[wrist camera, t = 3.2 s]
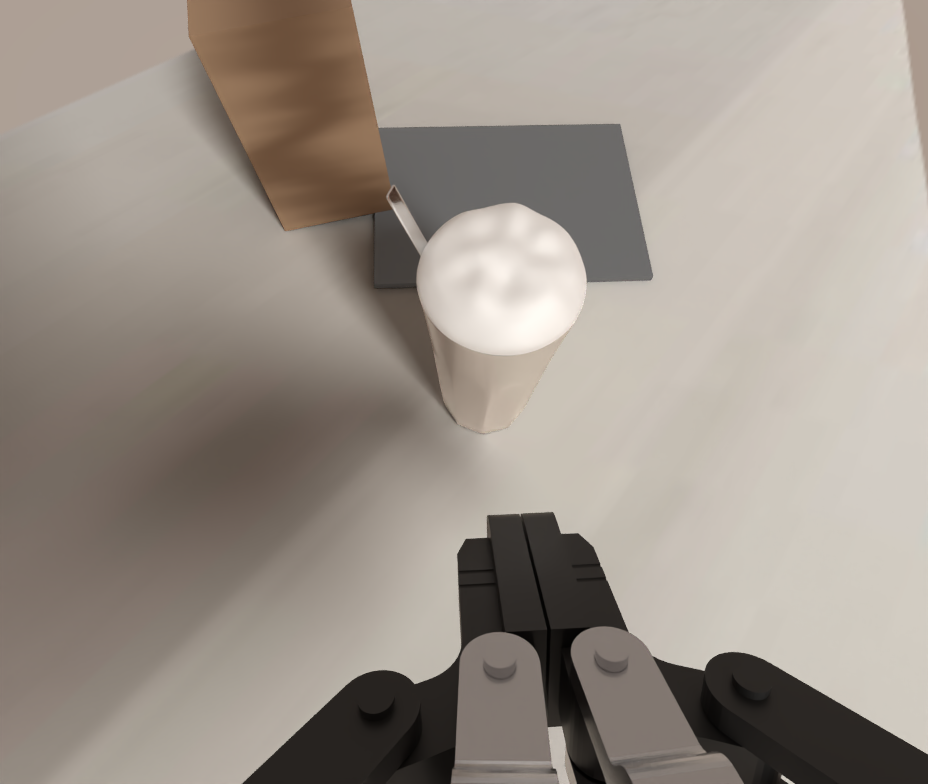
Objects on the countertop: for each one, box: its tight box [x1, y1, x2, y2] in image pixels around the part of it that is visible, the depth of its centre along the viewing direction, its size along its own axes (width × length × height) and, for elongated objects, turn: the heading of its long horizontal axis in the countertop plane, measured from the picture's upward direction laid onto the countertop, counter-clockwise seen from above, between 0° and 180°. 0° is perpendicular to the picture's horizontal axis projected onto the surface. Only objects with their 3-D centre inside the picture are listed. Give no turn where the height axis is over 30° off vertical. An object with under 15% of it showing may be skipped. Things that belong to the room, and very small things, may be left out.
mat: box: [374, 124, 653, 288], centre depth 26 cm, size 12×9×1 cm
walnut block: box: [187, 0, 392, 231], centre depth 23 cm, size 5×5×9 cm
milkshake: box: [386, 185, 587, 434], centre depth 18 cm, size 4×5×10 cm
